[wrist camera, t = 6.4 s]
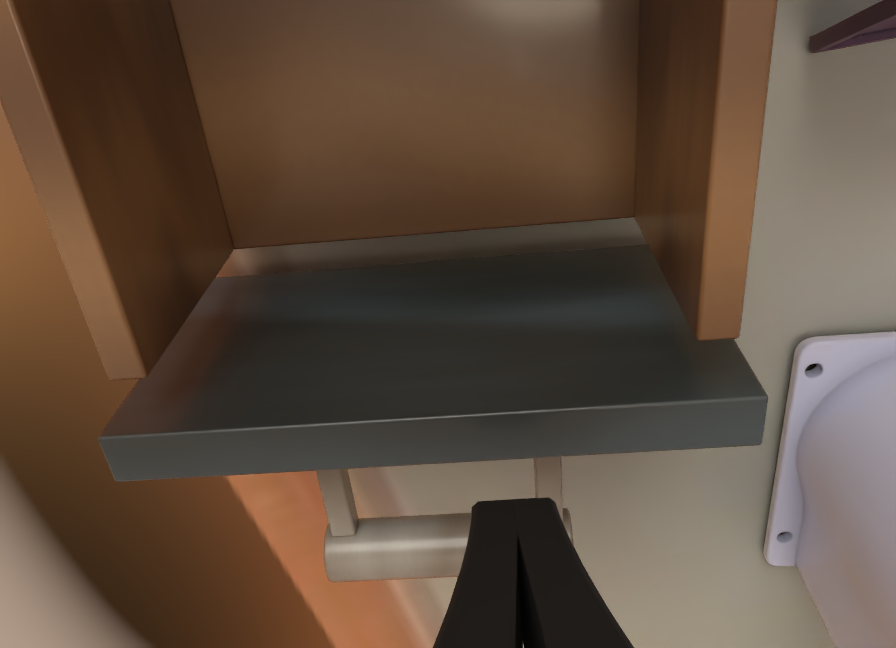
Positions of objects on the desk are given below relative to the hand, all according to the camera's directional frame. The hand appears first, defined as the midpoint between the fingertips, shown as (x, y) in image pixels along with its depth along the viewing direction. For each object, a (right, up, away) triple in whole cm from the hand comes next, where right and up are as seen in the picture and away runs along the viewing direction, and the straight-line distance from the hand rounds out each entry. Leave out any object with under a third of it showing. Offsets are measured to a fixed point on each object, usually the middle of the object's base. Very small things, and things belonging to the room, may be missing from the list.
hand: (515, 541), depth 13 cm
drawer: (-2, +8, +6) cm, 11 cm away
